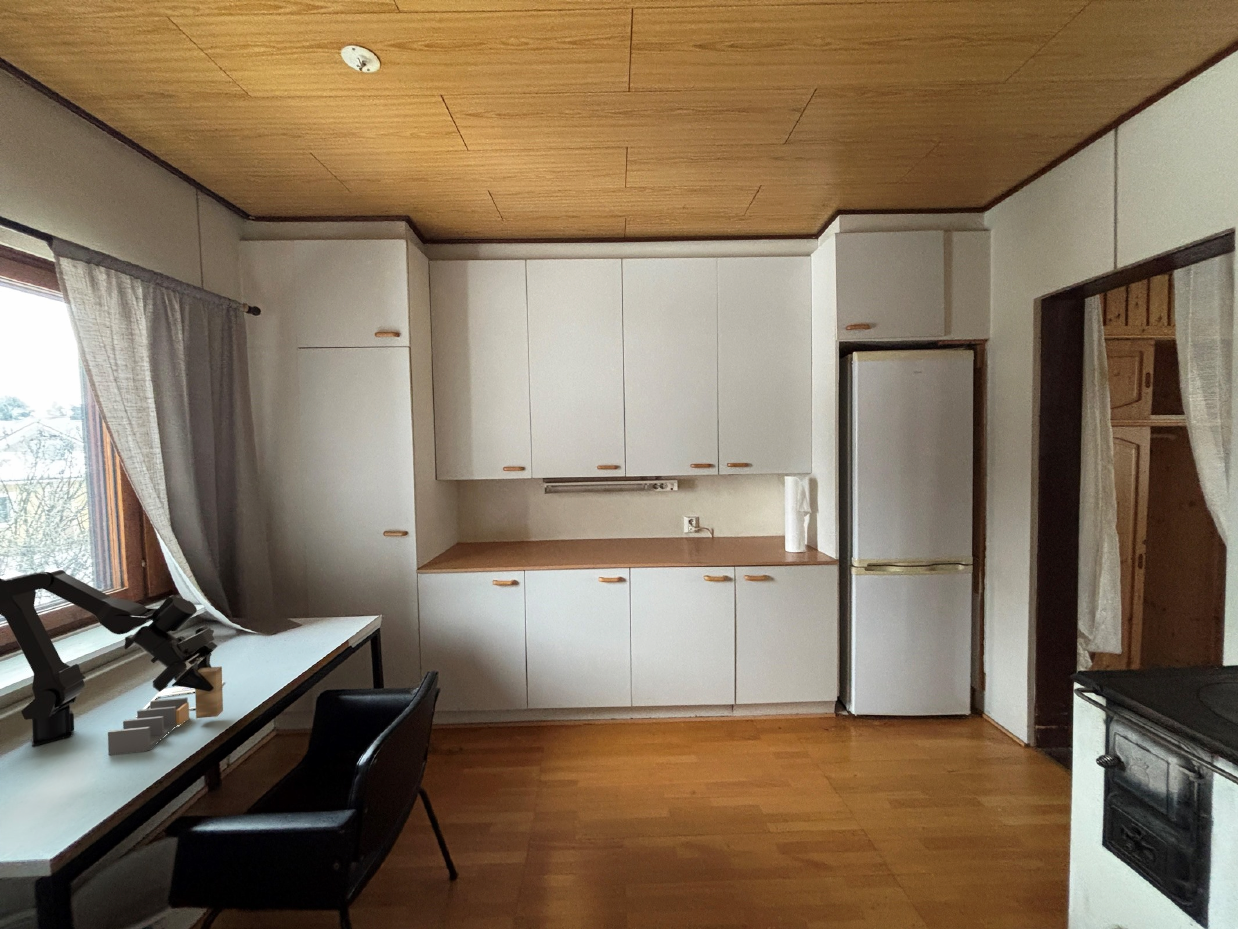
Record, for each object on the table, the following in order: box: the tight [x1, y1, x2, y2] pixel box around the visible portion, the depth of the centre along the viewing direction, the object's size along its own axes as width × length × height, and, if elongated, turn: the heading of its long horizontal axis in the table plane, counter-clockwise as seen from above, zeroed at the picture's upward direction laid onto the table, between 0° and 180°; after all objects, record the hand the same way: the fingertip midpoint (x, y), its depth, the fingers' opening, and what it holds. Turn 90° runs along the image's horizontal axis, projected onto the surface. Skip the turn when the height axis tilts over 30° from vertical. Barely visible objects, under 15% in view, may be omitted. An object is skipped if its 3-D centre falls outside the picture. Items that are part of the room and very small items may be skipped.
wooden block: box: [194, 666, 224, 719], centre depth 140 cm, size 4×3×11 cm, turn 102°
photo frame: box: [134, 680, 225, 719], centre depth 154 cm, size 15×1×18 cm
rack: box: [107, 697, 190, 756], centre depth 134 cm, size 8×16×5 cm, turn 12°
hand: (215, 687), depth 141 cm, fingers closed on wooden block, 3 cm apart
